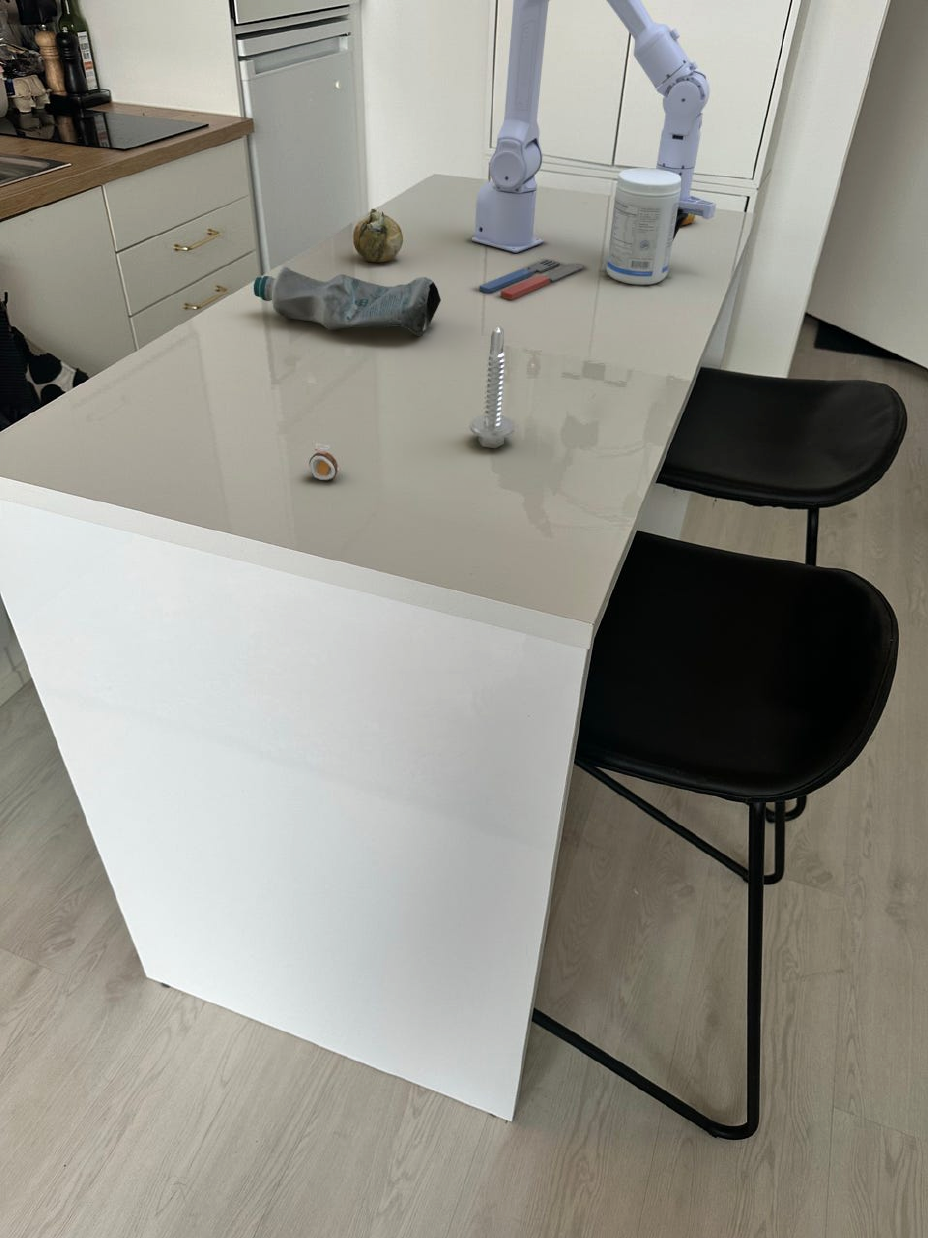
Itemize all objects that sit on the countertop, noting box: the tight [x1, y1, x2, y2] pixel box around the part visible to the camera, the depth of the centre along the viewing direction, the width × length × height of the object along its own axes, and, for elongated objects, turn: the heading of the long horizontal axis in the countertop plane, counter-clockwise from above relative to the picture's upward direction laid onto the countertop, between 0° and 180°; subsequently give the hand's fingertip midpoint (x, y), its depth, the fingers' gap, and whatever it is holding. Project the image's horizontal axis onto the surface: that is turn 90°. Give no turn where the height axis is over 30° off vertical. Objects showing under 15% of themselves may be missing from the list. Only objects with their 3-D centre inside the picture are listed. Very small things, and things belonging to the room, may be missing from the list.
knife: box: [500, 263, 584, 301], centre depth 141 cm, size 20×2×1 cm, turn 142°
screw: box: [469, 325, 516, 449], centre depth 96 cm, size 13×5×5 cm
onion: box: [352, 208, 404, 263], centre depth 144 cm, size 8×8×8 cm
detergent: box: [253, 266, 442, 337], centre depth 123 cm, size 13×7×25 cm
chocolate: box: [308, 440, 339, 481], centre depth 92 cm, size 3×2×4 cm
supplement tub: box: [606, 167, 681, 286], centre depth 140 cm, size 10×10×15 cm
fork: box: [478, 258, 560, 294], centre depth 142 cm, size 18×2×1 cm, turn 142°
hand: (660, 256), depth 148 cm, fingers closed, pressing on supplement tub
